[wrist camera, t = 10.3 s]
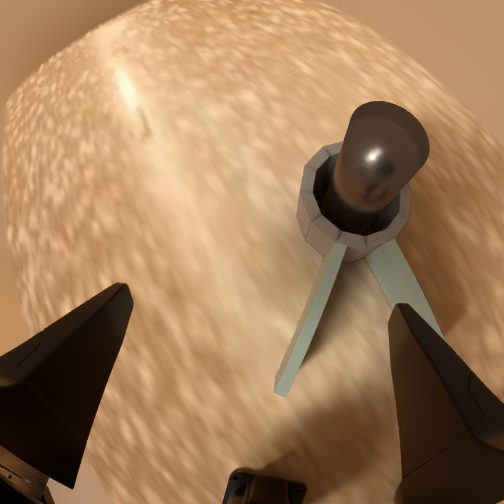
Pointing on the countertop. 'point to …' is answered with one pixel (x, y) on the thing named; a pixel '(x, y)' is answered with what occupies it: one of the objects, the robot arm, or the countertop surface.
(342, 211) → the hinge pin
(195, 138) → the countertop surface
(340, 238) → the grey forked piece
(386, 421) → the countertop surface
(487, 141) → the countertop surface
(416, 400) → the robot arm
